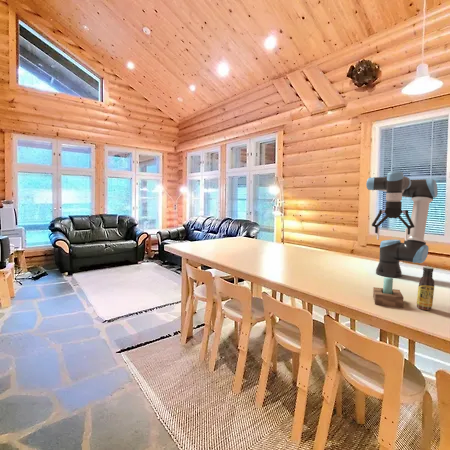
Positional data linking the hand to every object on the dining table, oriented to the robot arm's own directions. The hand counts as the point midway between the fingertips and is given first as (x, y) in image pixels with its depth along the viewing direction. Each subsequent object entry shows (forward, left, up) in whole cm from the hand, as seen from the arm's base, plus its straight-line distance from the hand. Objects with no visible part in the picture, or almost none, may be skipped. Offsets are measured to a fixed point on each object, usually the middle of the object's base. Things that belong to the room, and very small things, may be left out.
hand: (391, 240), depth 167 cm
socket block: (+19, -3, -29) cm, 35 cm away
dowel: (+19, -3, -29) cm, 35 cm away
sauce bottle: (+23, +12, -29) cm, 39 cm away
